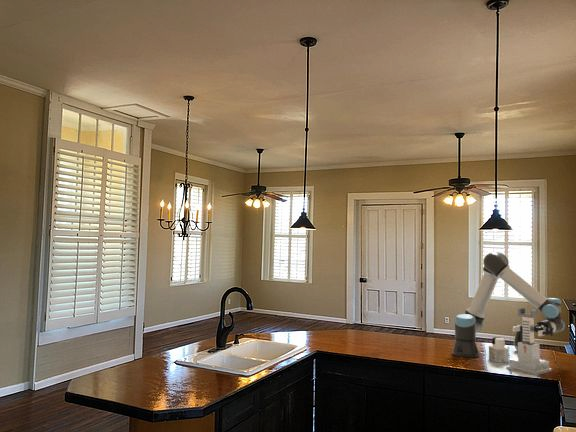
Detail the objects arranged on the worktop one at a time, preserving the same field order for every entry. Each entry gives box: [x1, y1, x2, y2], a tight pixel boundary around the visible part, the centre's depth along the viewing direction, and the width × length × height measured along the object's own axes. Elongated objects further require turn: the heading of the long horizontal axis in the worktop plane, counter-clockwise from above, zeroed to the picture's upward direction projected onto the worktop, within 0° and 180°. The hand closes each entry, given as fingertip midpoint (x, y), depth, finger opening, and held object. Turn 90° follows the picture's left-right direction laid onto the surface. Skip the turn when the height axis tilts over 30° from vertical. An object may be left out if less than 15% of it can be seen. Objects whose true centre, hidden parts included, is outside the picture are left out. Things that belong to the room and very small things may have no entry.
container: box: [488, 336, 510, 363], centre depth 263 cm, size 8×8×13 cm
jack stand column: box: [517, 307, 539, 345], centre depth 245 cm, size 8×5×30 cm, turn 35°
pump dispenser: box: [513, 330, 523, 352], centre depth 286 cm, size 10×10×15 cm
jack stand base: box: [505, 341, 553, 376], centre depth 245 cm, size 16×16×15 cm
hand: (525, 331), depth 244 cm, fingers open, 13 cm apart
